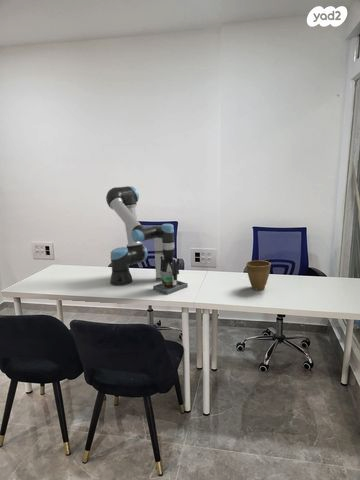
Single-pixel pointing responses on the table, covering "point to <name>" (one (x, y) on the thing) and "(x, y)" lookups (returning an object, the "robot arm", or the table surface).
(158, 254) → the white tall box
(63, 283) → the table surface
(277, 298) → the table surface
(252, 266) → the plant pot
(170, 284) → the food container
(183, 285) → the grey shallow tray
